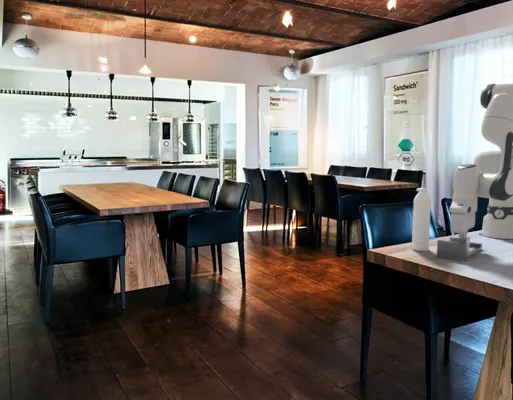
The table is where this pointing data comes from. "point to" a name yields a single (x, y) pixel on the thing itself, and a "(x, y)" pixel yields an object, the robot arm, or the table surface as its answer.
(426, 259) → the table surface
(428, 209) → the water bottle
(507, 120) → the robot arm
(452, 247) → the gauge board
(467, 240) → the tan block
